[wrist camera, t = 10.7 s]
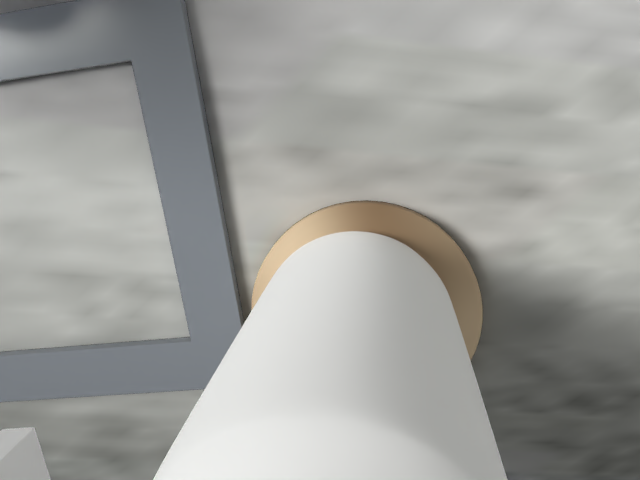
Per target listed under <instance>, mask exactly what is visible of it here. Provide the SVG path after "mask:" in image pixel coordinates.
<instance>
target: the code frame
mask: <svg viewBox="0 0 640 480" xmlns="http://www.w3.org/2000/svg"><path fill="white" fill-rule="evenodd" d="M130 61H131V62H132V66H133V71H134V76H135V80H136V85H137V90H138V94H139V99H140V104H141V108H142V113H143V118H144V122H145V127H146V132H147V137H148V141H149V146H150V151H151V155H152V160H153V165H154V169H155V174H156V179H157V183H158V188H159V193H160V198H161V202H162V207H163V212H164V216H165V221H166V226H167V230H168V235H169V240H170V244H171V249H172V254H173V258H174V263H175V268H176V273H177V277H178V282H179V287H180V291H181V296H182V301H183V305H184V310H185V315H186V319H187V324H188V329H189V334H190V337H184V338H171V339H158V340H145V341H133V342H120V343H107V344H94V345H81V346H69V347H56V348H43V349H30V350H17V351H5V352H0V402H9V401H25V400H41V399H56V398H72V397H88V396H104V395H120V394H135V393H151V392H167V391H183V390H198V389H205V388H206V386H207V385H208V383H209V381H210V380H211V378H212V376H213V375H214V373H215V371H216V370H217V368H218V366H219V364H220V363H221V361H222V359H223V358H224V356H225V354H226V353H227V351H228V349H229V348H230V346H231V344H232V343H233V341H234V339H235V338H236V336H237V334H238V333H239V331H240V329H241V328H242V326H243V324H244V320H243V314H242V309H241V303H240V298H239V292H238V287H237V282H236V276H235V271H234V265H233V260H232V254H231V249H230V244H229V238H228V233H227V227H226V222H225V216H224V211H223V205H222V200H221V195H220V189H219V184H218V178H217V173H216V167H215V162H214V157H213V151H212V146H211V140H210V135H209V129H208V124H207V119H206V113H205V108H204V102H203V97H202V91H201V86H200V80H199V75H198V70H197V64H196V59H195V53H194V48H193V42H192V37H191V32H190V26H189V21H188V15H187V10H186V4H185V0H76V1H70V2H64V3H59V4H53V5H47V6H42V7H36V8H31V9H25V10H19V11H14V12H8V13H2V14H0V82H3V81H9V80H16V79H22V78H28V77H35V76H41V75H47V74H54V73H60V72H66V71H73V70H79V69H85V68H92V67H98V66H104V65H111V64H117V63H123V62H130Z"/></svg>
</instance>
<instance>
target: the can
mask: <svg viewBox="0 0 640 480" xmlns="http://www.w3.org/2000/svg"><path fill="white" fill-rule="evenodd" d="M153 480H507V477H506V473H505V470H504V467H503V464H502V460H501V457H500V454H499V451H498V447H497V444H496V441H495V438H494V434H493V431H492V428H491V425H490V421H489V418H488V415H487V412H486V409H485V405H484V402H483V399H482V396H481V393H480V389H479V386H478V383H477V380H476V377H475V373H474V370H473V367H472V364H471V361H470V358H469V354H468V351H467V348H466V345H465V342H464V339H463V336H462V333H461V329H460V326H459V323H458V320H457V317H456V314H455V311H454V308H453V305H452V302H451V299H450V297H449V294H448V292H447V290H446V288H445V286H444V284H443V282H442V280H441V279H440V277H439V276H438V274H437V273H436V272H435V271H434V269H433V268H432V267H431V266H430V265H429V264H428V263H427V262H426V261H425V260H424V259H423V258H422V257H421V256H420V255H419V254H418V253H416V252H415V251H414V250H412V249H411V248H410V247H408V246H407V245H405V244H403V243H401V242H399V241H397V240H395V239H393V238H390V237H387V236H384V235H380V234H376V233H371V232H362V231H347V232H339V233H333V234H329V235H326V236H322V237H320V238H317V239H315V240H313V241H311V242H309V243H307V244H305V245H303V246H302V247H300V248H299V249H297V250H296V251H295V252H294V253H292V254H291V255H290V256H289V257H288V258H287V259H286V260H285V261H284V262H283V263H282V265H281V266H280V267H279V268H278V270H277V271H276V272H275V274H274V275H273V277H272V278H271V280H270V282H269V283H268V285H267V286H266V288H265V290H264V291H263V293H262V295H261V296H260V298H259V299H258V301H257V303H256V304H255V306H254V308H253V309H252V311H251V313H250V314H249V316H248V318H247V319H246V321H245V323H244V324H243V326H242V328H241V329H240V331H239V333H238V334H237V336H236V338H235V339H234V341H233V343H232V344H231V346H230V348H229V349H228V351H227V353H226V354H225V356H224V358H223V359H222V361H221V363H220V364H219V366H218V368H217V370H216V371H215V373H214V375H213V376H212V378H211V380H210V381H209V383H208V385H207V386H206V388H205V390H204V391H203V393H202V395H201V397H200V398H199V400H198V402H197V403H196V405H195V407H194V408H193V410H192V412H191V414H190V415H189V417H188V419H187V420H186V422H185V424H184V425H183V427H182V429H181V431H180V432H179V434H178V436H177V438H176V439H175V441H174V443H173V444H172V446H171V448H170V450H169V451H168V453H167V455H166V457H165V458H164V460H163V462H162V464H161V466H160V468H159V470H158V471H157V473H156V475H155V477H154V479H153Z"/></svg>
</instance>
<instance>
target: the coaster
mask: <svg viewBox="0 0 640 480" xmlns="http://www.w3.org/2000/svg"><path fill="white" fill-rule="evenodd" d="M347 231H362V232H371V233H376V234H380V235H384V236H387V237H390V238H393V239H395V240H397V241H399V242H401V243H403V244H405V245H407V246H408V247H410V248H411V249H412V250H414V251H415V252H416V253H418V254H419V255H420V256H421V257H422V258H423V259H424V260H425V261H426V262H427V263H428V264H429V265H430V266H431V267H432V268H433V269H434V271H435V272H436V273H437V274H438V276H439V277H440V279H441V280H442V282H443V284H444V286H445V288H446V290H447V292H448V294H449V297H450V299H451V302H452V305H453V308H454V311H455V314H456V317H457V320H458V323H459V326H460V329H461V333H462V336H463V339H464V342H465V345H466V348H467V351H468V354H469V358H470V361H471V359H472V357H473V355H474V353H475V351H476V348H477V345H478V342H479V339H480V335H481V329H482V322H483V306H482V299H481V292H480V289H479V285H478V282H477V279H476V276H475V274H474V272H473V270H472V268H471V265H470V263H469V261H468V260H467V258H466V256H465V255H464V253H463V252H462V250H461V249H460V247H459V246H458V245H457V244H456V242H455V241H454V240H453V239H452V238H451V236H450V235H448V234H447V233H446V232H445V231H444V230H443V229H442V228H441V227H440V226H438V225H437V224H435V223H434V222H432V221H431V220H430V219H428V218H427V217H425V216H423V215H421V214H419V213H417V212H415V211H413V210H410V209H407V208H405V207H402V206H399V205H395V204H390V203H386V202H378V201H350V202H345V203H339V204H335V205H332V206H328V207H325V208H322V209H320V210H318V211H316V212H313V213H311V214H309V215H307V216H306V217H304V218H303V219H301V220H300V221H298V222H297V223H295V224H294V225H293V226H292V227H291V228H289V229H288V230H287V231H286V232H285V233H284V234H283V235H282V236H281V237H280V238H279V240H278V241H277V242H276V243H275V244H274V246H273V247H272V249H271V250H270V252H269V253H268V255H267V256H266V258H265V259H264V261H263V263H262V265H261V268H260V270H259V272H258V275H257V278H256V281H255V284H254V289H253V295H252V309H253V308H254V306H255V304H256V303H257V301H258V299H259V298H260V296H261V295H262V293H263V291H264V290H265V288H266V286H267V285H268V283H269V282H270V280H271V278H272V277H273V275H274V274H275V272H276V271H277V270H278V268H279V267H280V266H281V265H282V263H283V262H284V261H285V260H286V259H287V258H288V257H289V256H290V255H291V254H292V253H294V252H295V251H296V250H297V249H299V248H300V247H302V246H303V245H305V244H307V243H309V242H311V241H313V240H315V239H317V238H320V237H322V236H326V235H329V234H333V233H339V232H347Z"/></svg>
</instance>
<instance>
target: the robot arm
mask: <svg viewBox="0 0 640 480" xmlns="http://www.w3.org/2000/svg"><path fill="white" fill-rule="evenodd" d="M0 480H51V479H50V476H49V473H48V470H47V466H46V463H45V460H44V457H43V453H42V450H41V447H40V444H39V441H38V437H37V434H36V431H35V428H34V427H27V428H12V429H3V430H1V431H0Z"/></svg>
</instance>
